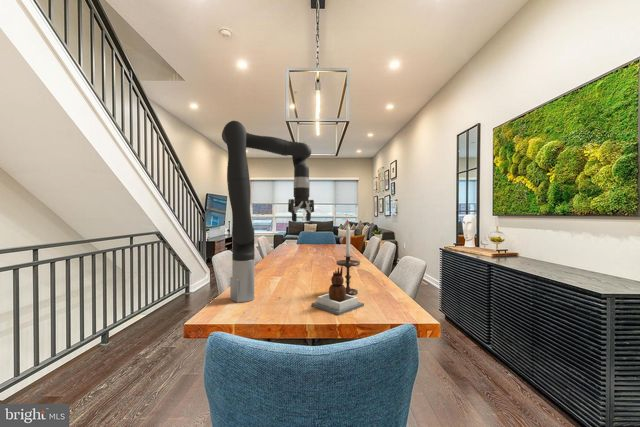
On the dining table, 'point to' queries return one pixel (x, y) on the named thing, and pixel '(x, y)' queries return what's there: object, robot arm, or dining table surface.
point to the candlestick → (348, 263)
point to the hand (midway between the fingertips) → (301, 221)
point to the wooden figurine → (337, 287)
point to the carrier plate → (337, 304)
